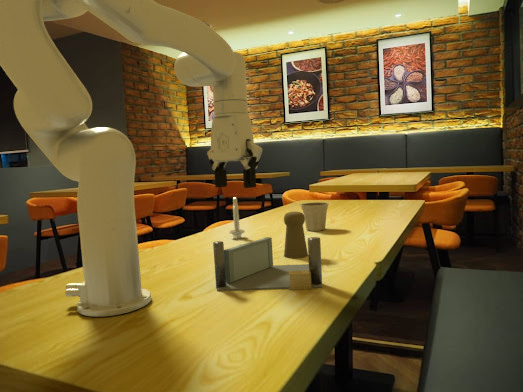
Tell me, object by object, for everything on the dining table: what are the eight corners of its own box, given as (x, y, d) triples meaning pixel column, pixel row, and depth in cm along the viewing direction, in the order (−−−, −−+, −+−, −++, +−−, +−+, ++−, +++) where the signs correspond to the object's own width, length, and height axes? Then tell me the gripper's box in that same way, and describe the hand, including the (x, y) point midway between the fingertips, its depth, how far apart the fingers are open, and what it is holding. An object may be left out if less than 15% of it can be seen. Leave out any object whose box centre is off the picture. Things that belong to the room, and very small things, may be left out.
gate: (230, 282, 84) (228, 250, 83) (225, 281, 85) (223, 250, 84) (273, 266, 95) (271, 237, 94) (268, 265, 96) (266, 237, 95)
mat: (217, 290, 81) (216, 289, 81) (228, 268, 97) (228, 267, 97) (321, 287, 80) (321, 285, 80) (316, 265, 96) (316, 263, 95)
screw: (245, 236, 135) (244, 239, 130) (230, 237, 135) (229, 240, 130) (242, 195, 134) (242, 197, 129) (227, 196, 134) (226, 198, 129)
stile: (290, 289, 79) (287, 242, 78) (290, 283, 83) (287, 238, 82) (323, 288, 79) (321, 241, 78) (321, 282, 83) (319, 236, 82)
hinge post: (215, 289, 82) (212, 243, 81) (217, 286, 84) (214, 241, 83) (225, 288, 82) (222, 243, 81) (227, 285, 84) (224, 241, 83)
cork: (306, 258, 102) (304, 213, 101) (282, 258, 103) (279, 214, 102) (309, 252, 108) (307, 210, 107) (285, 252, 109) (283, 210, 108)
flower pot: (297, 229, 143) (295, 203, 142) (322, 226, 146) (321, 201, 145) (308, 233, 134) (307, 206, 133) (335, 230, 137) (334, 203, 136)
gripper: (193, 114, 98) (198, 188, 99) (245, 105, 85) (249, 189, 87) (219, 115, 103) (223, 185, 104) (270, 106, 91) (274, 186, 92)
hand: (235, 187), depth 96 cm, fingers open, 9 cm apart
